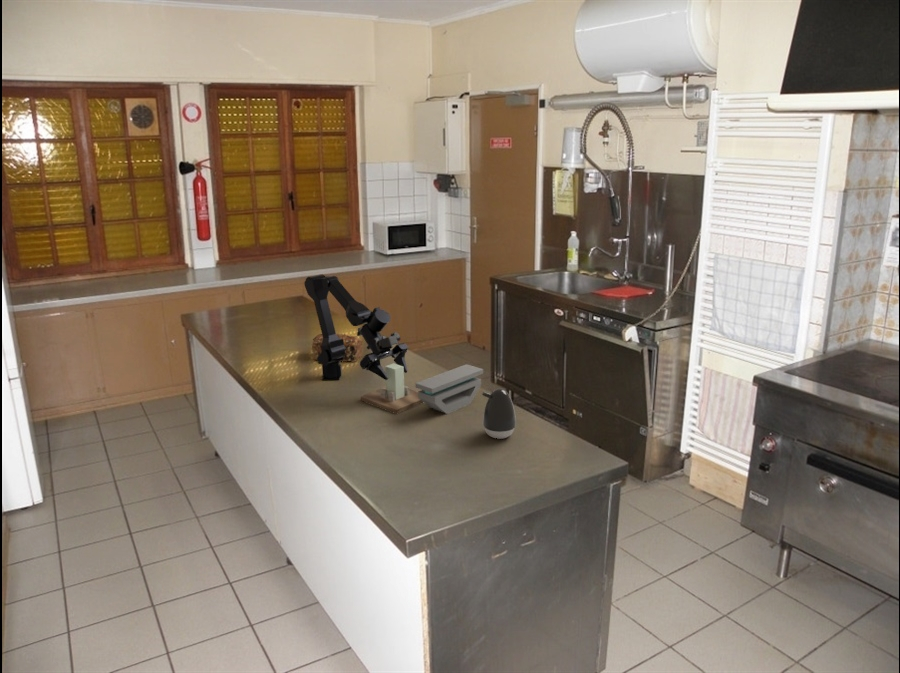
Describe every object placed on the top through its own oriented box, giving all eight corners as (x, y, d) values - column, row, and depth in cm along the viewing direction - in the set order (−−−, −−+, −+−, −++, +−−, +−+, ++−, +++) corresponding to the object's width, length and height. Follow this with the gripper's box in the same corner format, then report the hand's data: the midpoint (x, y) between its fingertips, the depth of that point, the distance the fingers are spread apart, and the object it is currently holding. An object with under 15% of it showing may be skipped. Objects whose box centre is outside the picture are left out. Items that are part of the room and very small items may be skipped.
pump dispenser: (479, 428, 218) (480, 383, 214) (512, 427, 219) (513, 382, 215) (484, 443, 209) (484, 396, 204) (518, 441, 209) (519, 394, 205)
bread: (312, 361, 282) (310, 337, 279) (321, 353, 292) (319, 330, 289) (356, 363, 279) (355, 339, 276) (363, 355, 289) (362, 332, 286)
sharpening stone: (432, 420, 225) (432, 388, 222) (416, 413, 230) (415, 383, 227) (483, 398, 242) (483, 369, 239) (466, 392, 248) (466, 364, 244)
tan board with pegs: (396, 414, 230) (396, 401, 229) (360, 400, 241) (360, 388, 240) (429, 400, 241) (429, 387, 240) (393, 387, 253) (393, 376, 251)
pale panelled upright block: (393, 392, 244) (392, 362, 241) (404, 396, 241) (403, 366, 237) (385, 395, 242) (383, 365, 238) (396, 399, 238) (395, 369, 235)
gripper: (363, 332, 230) (388, 371, 226) (404, 320, 243) (427, 357, 239) (349, 350, 237) (372, 387, 233) (389, 337, 250) (411, 373, 247)
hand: (396, 375), depth 238 cm, fingers open, 9 cm apart
